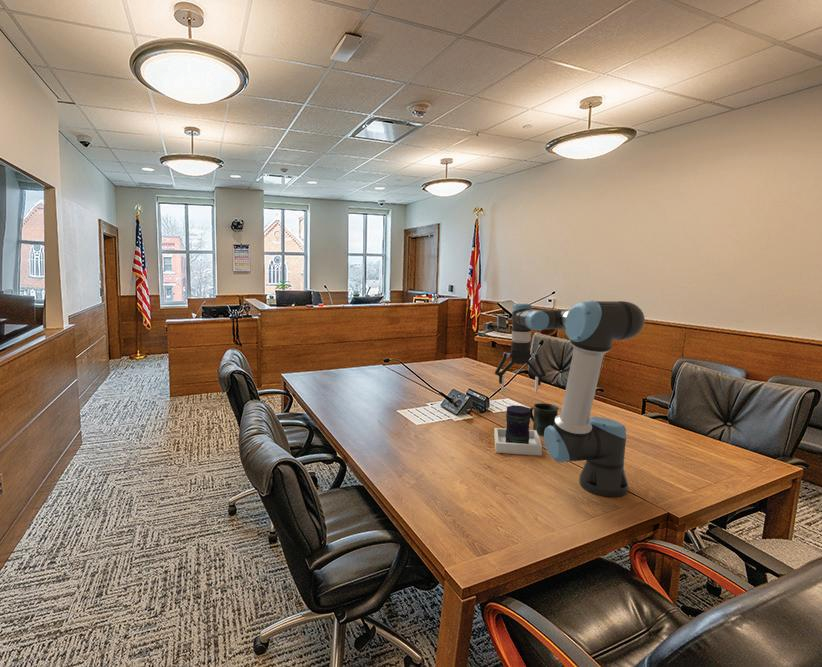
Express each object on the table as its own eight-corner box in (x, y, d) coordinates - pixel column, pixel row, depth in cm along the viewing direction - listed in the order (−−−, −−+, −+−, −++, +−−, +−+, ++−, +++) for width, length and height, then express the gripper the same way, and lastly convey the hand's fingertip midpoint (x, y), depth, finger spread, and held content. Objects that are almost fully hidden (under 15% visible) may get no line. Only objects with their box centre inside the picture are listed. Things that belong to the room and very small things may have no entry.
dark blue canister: (529, 448, 177) (531, 413, 175) (505, 446, 179) (506, 411, 177) (528, 439, 187) (529, 406, 185) (505, 438, 189) (506, 404, 187)
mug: (546, 438, 192) (548, 411, 190) (521, 428, 204) (522, 403, 202) (562, 433, 198) (563, 407, 196) (537, 424, 210) (538, 400, 208)
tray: (541, 455, 173) (542, 445, 173) (495, 452, 176) (496, 443, 175) (535, 439, 191) (536, 430, 190) (494, 436, 194) (494, 427, 193)
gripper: (551, 340, 179) (549, 391, 182) (489, 339, 183) (488, 388, 186) (554, 343, 172) (552, 395, 174) (490, 341, 176) (488, 393, 178)
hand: (519, 392), depth 180 cm, fingers open, 13 cm apart
